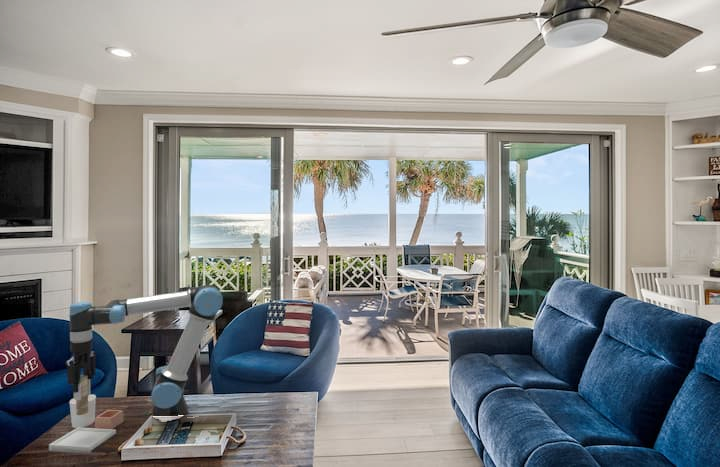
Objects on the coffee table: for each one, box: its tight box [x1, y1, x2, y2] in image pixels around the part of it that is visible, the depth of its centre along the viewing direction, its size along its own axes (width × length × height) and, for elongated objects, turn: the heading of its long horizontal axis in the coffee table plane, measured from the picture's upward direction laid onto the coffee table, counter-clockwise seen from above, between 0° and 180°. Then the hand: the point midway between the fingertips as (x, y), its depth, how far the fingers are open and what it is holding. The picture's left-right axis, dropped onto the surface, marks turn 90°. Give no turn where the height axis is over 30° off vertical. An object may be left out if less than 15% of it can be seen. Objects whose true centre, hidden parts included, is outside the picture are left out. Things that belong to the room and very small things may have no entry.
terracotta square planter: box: [94, 409, 125, 429], centre depth 178 cm, size 8×8×6 cm
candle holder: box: [69, 393, 97, 429], centre depth 180 cm, size 10×10×12 cm
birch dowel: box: [76, 374, 88, 415], centre depth 165 cm, size 4×4×15 cm
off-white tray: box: [48, 427, 117, 454], centre depth 165 cm, size 18×14×2 cm
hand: (82, 397), depth 165 cm, fingers closed on birch dowel, 4 cm apart
